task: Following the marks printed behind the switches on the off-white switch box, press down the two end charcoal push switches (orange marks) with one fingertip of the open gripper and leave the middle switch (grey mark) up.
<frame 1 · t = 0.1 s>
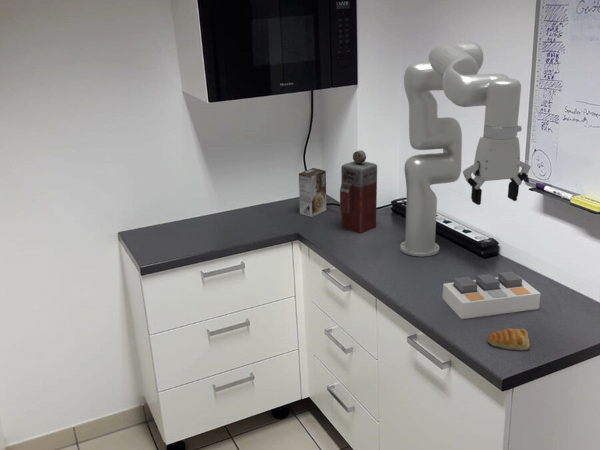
hand: (494, 201, 158), 31 cm above the worktop, tool pointing down, fingers open, 9 cm apart
button c: (509, 281, 176), point 5 cm above the worktop, slide at 0.0 cm
button a: (465, 287, 173), point 5 cm above the worktop, slide at 0.0 cm
switch box: (489, 303, 174), on the worktop
button b: (487, 284, 175), point 5 cm above the worktop, slide at 0.0 cm
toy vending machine: (356, 228, 230), on the worktop
pastry: (510, 345, 155), on the worktop
coffee box: (313, 212, 247), on the worktop
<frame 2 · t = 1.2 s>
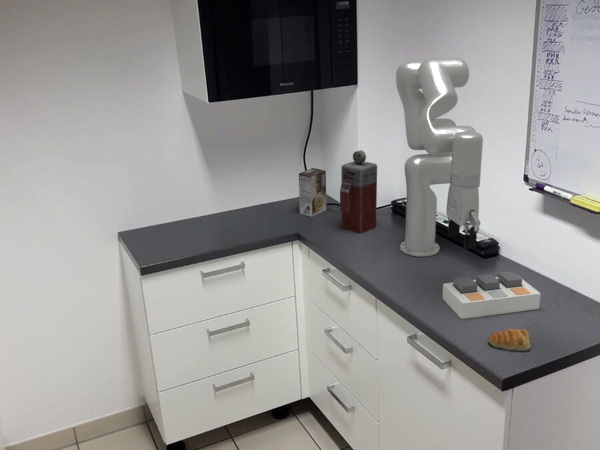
hand: (461, 241, 173), 16 cm above the worktop, tool pointing down, fingers open, 9 cm apart
nothing on the worktop moved.
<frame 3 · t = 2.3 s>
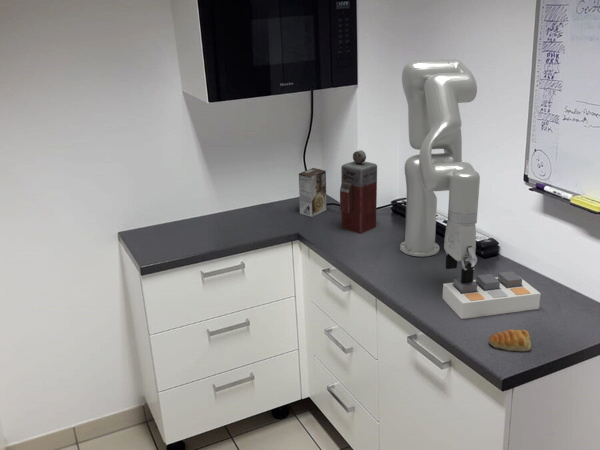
hand: (458, 275, 177), 6 cm above the worktop, tool pointing down, fingers open, 9 cm apart
button a: (465, 287, 173), point 5 cm above the worktop, slide at 0.0 cm, touching gripper
everything else where it was.
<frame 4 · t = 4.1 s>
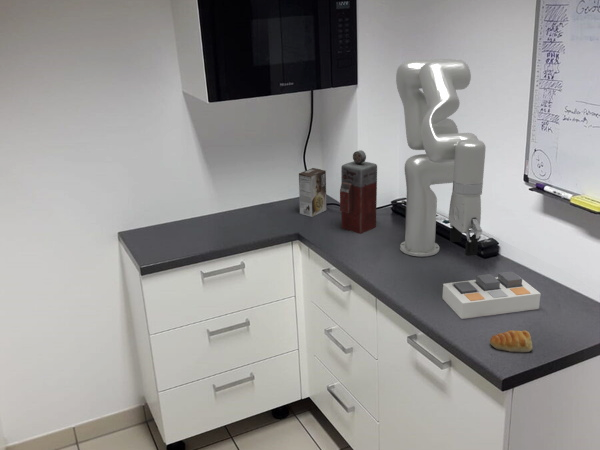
hand: (463, 248, 174), 14 cm above the worktop, tool pointing down, fingers open, 9 cm apart
button a: (464, 292, 174), point 3 cm above the worktop, slide at 1.5 cm
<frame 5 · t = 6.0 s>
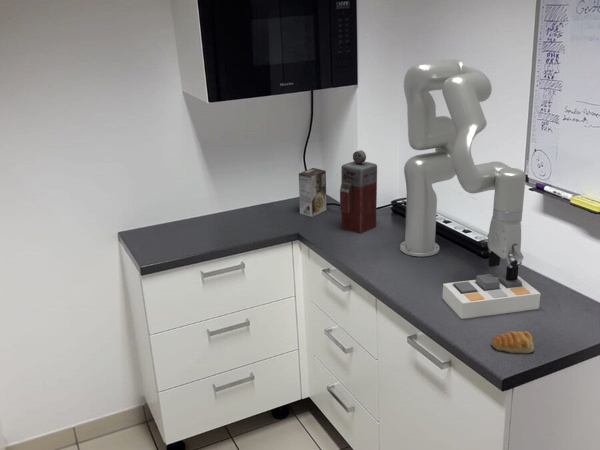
hand: (502, 272, 179), 6 cm above the worktop, tool pointing down, fingers open, 9 cm apart
button c: (509, 284, 176), point 4 cm above the worktop, slide at 0.9 cm, touching gripper
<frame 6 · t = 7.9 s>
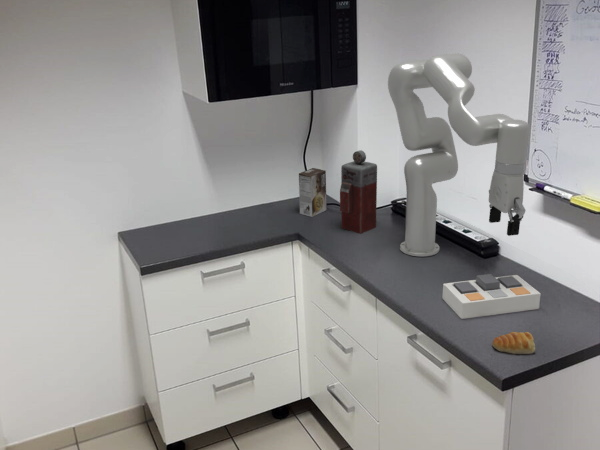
hand: (503, 228, 176), 18 cm above the worktop, tool pointing down, fingers open, 9 cm apart
button c: (509, 286, 176), point 3 cm above the worktop, slide at 1.5 cm
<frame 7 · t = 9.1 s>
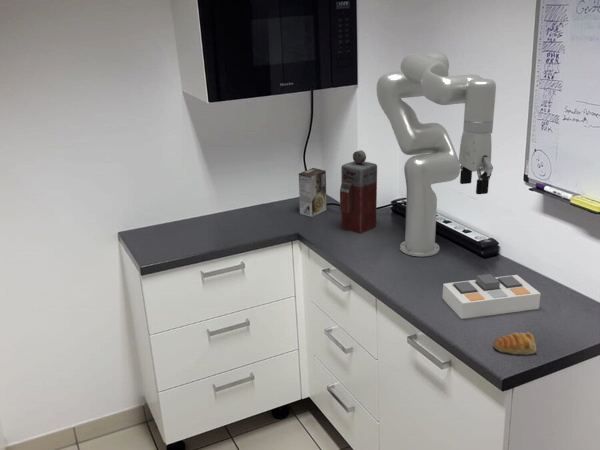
hand: (473, 188, 177), 28 cm above the worktop, tool pointing down, fingers open, 9 cm apart
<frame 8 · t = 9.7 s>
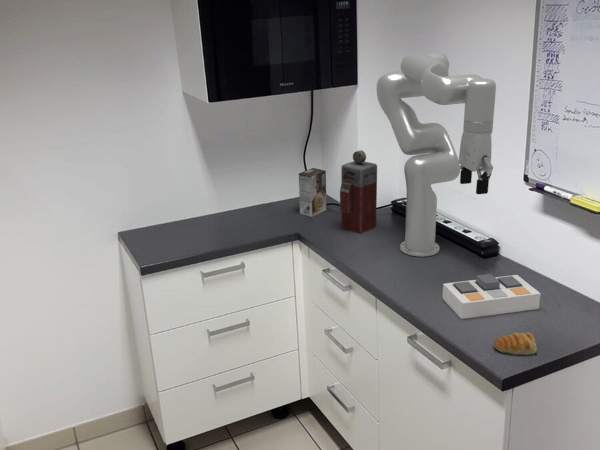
hand: (473, 188, 177), 28 cm above the worktop, tool pointing down, fingers open, 9 cm apart
at the end: button a slide at 1.5 cm; button c slide at 1.5 cm; button b slide at 0.0 cm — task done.
